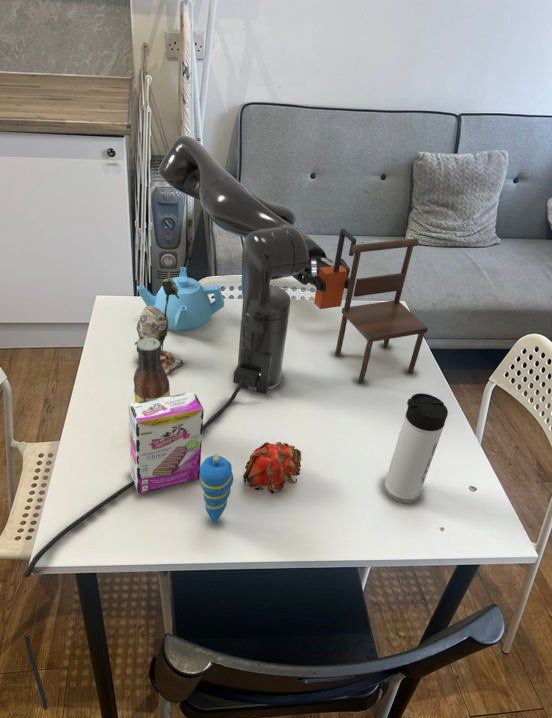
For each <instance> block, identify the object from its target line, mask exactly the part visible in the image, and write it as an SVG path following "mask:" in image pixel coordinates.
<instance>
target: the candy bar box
mask: <svg viewBox="0 0 552 718" xmlns="http://www.w3.org/2000/svg"><path fill="white" fill-rule="evenodd" d="M204 412H205V408H204V407H203V405H202V403H201V402H200V400H199V397H198V396H197V394H196V392H195V391H191V392H185V393H180V394H174V395H170V396H169V397H163V398H158V399H152V400H147V401H141V402H136V403H135V402H131V403H128V417H129V418H128V419H129V420H128V422H129V423H128V426H129V448H130V449H129V455H130V475H131V479H132V481H133V480H134V483H135V485H134V487H135V489H136V492H137V494H138V495H142V494H145V493H149V492H155V491H158V490H161V489H165V488H169V487H174V486H177V485H181V484H186V483H190V482H193V481H198V480H200V478H201V477H200V467H201V461H202V444H203V443H202V442H203V441H202V440H203V432H202V429H203V425H204Z"/></svg>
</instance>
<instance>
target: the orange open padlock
mask: <svg viewBox="0 0 552 718" xmlns="http://www.w3.org/2000/svg"><path fill="white" fill-rule="evenodd" d="M345 239H348V240H349V241H350V246H349V252H348V256H349V257H354V254H355V253H352V251H351V247H352V245H357V238H356V237H354V236H353V235H352V234H351V233H350V232H349V231H348V230H347V229H346V228H345V227H342V228H341V229H340V230H339V236H338V241H337V247H336V254H335V258H334V262H335V264H334V266H330V267H322V268H319V275H318V276H319V277H320V278H321V279H322V280H323V281H324V282H325V283H326V291H325V292H321V291H320V290H318V289H317V288H316V287H315V294H314V301H313V304H314V305H315V306H316V307H317V308H318V310H324V309H325V310H326V309H332V308H339V307H341V306H342V302H343V296H344V291H345V288H344V286H345V281H346V276H347V270H346V269H345V268H344V267H343V266H341V265H340V261H341V259H342V256H343V250H344V244H345Z"/></svg>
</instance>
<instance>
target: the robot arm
mask: <svg viewBox="0 0 552 718" xmlns="http://www.w3.org/2000/svg"><path fill="white" fill-rule="evenodd" d="M157 172H158V175H159V176H160V177H161V179H162V180H163V181H164V182H165V183H167V185H169V186H170V187H172V188H173V189H175V190H176V191H179V192H180V193H182V194H184V195H187V196H188V197H191V198H193V199H196V200H198V201H199V202H200V204H201V207H202V209H203V211H204V212H205V213H206V215H207V216H208V217H209V218H210V219H211V220H212V221H213V222H214V224H215V225H217V226H218V227H219V228H220V229H222V230H223V231H226V232H228V233H230V234H232V235H235V236H238V237H241V238H244V240H243V245H242V253H241V254H242V256H241V295H242V308H241V309H242V310H241V321H240V332H239V333H240V334H239V345H238V355H237V356H238V357H237V366H236V368H235V369H234V371H233V382H232V383H234V384H237V387H235V389H234V390H233V392H232V395H231V396H230V398H229V399H228V400H227V402H225V404H224V405H223V406H222V407H221V408H220V409H219V410H218V411H216V413H215V414H213V415H212V416H211V417H210V418H209V419H208V420H207V421H206V422H205V423H203V429H202V433H203V432H204V431H205V430H206V429H207V428H208V427H209V426H210V425H211V424H212V423H213V422H215V420H216V419H217V418H219V417H220V416H221V415H222V414H223V412H225V410H226V409H227V408H228V407H229V406H230V405H231V404H232V403H233V402H234V400H235V399H236V397H237V395H238V394H239V392H240V391H241V389H245V390H249V391H252V392H256V393H260V394H264V395H266V394H268V392H271V391H272V390H275V389H276V388H278V387H279V386H280V384H281V382H282V372H283V371H282V370H283V363H284V356H285V355H284V354H285V348H286V340H287V333H288V325H289V319H290V311H291V304H292V303H291V301H292V300H291V296H290V295H289V293H288V292H287V291H286V290H284V289H283V288H281V287H279V286H277V285H273V284H271V281H273V280H278V279H284V278H289V277H292V278H294V279H295V280H296V281H297V282H299V283H300V284H301V285H303V286H307V285H308V284H310V285H311V286H314V287H315V289H316V288H317V289H318V290H320V291H321V292H325V291H326V283H325V282H324V281H323V280H322V279H321V278H320V277H319V276H318V275H319V268H322V267H330V266H334V264H335V261H333V260H332V259H330V258H328V257H327V254H326V252H325V250H324V249H323V248H322V247H321V246H320V245H319V244H318V243H317V242H316V241H315V240H314V239H312V237H310V235H307V234H306V233H305V232H304V231H303V230H302V229H301V228H300V227H299V226H297V225H295V224H296V221H297V218H296V214H295V213H294V211H293V210H292V209H291V208H290V207H288V206H286V205H282V204H280V203H275V202H270V201H267V200H264V199H262V198H261V197H259V196H258V195H256V194H255V193H254V192H252V191H251V190H248V189H247V188H246V187H245V186H244V185H243V184H242V183H241V182H240V181H238V180H237V179H236V178H235V177H234V176H233V175H232V174H230V173H229V172H228V171H227V170H225V169H224V168H223V167H222V166H221V165H220V164H219V162H218V161H217V160H216V159H215V158H214V157H213V156H212V154H211V153H210V152H209V150H207V149H206V148H205V147H204V145H202V144H201V143H200V142H199V141H197V140H196V139H195V138H193V137H191V136H190V135H189V136H188V135H179V136H178V137H177V138H176V139H175V140H174V142H173V143H172V144H171V146H170V148H169V150H168V151H167V153H166V154H165V155H164V158H163V159H162V161H161V162H160V164H159V166H158V169H157ZM340 265H341V266H343V267H344V268H345V269H346V270H347V276H346V281H345V286H344V290H348V285H349V280H350V274H351V268H350V267H349V265H348V264H347V262H346V260H345V259H344V258H341V261H340ZM133 487H135V483H134V480H133V479H132V480H131V482H129V483H127V484H126V485H124V486H123V487H122V488H120V489H119V490H117V491H116V492H114V493H113V494H111V495H110V496H108V497H107V498H105V499H104V500H102V501H101V502H100V503H98V504H96V506H93V508H91V509H90V510H88V511H87V512H86V513H84V514H83V515H82V516H80V517H79V518H77V519H76V520H75V521H73V522H72V523H71V524H69V525H67V526H66V527H65V528H63V529H62V530H61V531H60V532H59V533H57V534H56V535H55V536H54V537H53V538H52V539H51V540H50V541H49V542H48V543H46V544H45V545H44V546H43V547H42V548H41V549H40V550H39V551H38V552H37V553H36V554H35V555H34V557H33V558H32V560H31V561H30V563H29V564H28V566H27V568H26V570H25V572H24V578H25V579H27V578H29V577H30V576H31V574H32V573H33V572H32V571H33V570H34V568H35V566H36V565H37V563H38V562H39V560H40V559H41V558H42V557H43V556H44V555H45V554H46V553H47V552H48V551H49V550H50V549H51V548H52V547H54V546H55V545H56V543H57V542H59V541H60V540H61V539H62V538H63V537H65V536H66V535H67V534H68V533H69V532H71V531H73V529H75V528H76V527H78V526H79V525H80V524H82V523H83V522H85V521H86V520H87V519H88V518H90V517H91V516H92V515H94V514H95V513H97V512H98V511H99V510H101V509H103V508H104V507H105V506H107V505H108V504H109V503H111V502H112V501H114V500H115V499H117V498H118V497H120V496H121V495H123V494H124V493H126V492H127V491H128V490H130V489H131V488H133ZM23 637H24V642H25V649H26V652H27V657H28V659H29V663H30V667H31V669H32V673H33V676H34V679H35V682H36V686H37V689H38V693H39V697H40V700H41V705H42V708H43V710H44V711H47V710H48V709H49V708H48V701H47V698H46V694H45V690H44V685H43V683H42V680H41V676H40V672H39V668H38V665H37V663H36V659H35V655H34V652H33V647H32V643H31V637H30V636H28V635H25V634H24V635H23Z"/></svg>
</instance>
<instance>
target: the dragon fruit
mask: <svg viewBox="0 0 552 718" xmlns="http://www.w3.org/2000/svg"><path fill="white" fill-rule="evenodd" d="M302 460H303V459H302V451H301V450H299V449H298V448H296V446H294V445H290V444H288V443H287V442H283V443H282V442H281V441H276V443H270V442H269V441H267V442H264V443H262V444H261V445H260V446H259V447H257V448H255V450H253V452H252V453H251V454H250V456H249V459H248V460H247V462H246V464H245V466H244V470H245V472H244V473H243V475H242V478H243V483H244V485H247V483H248V487H249V489H251V490H253V491H254V490H255V491H262V490H264V489H265V488H263V487H267V490H268V492H270V494H271V495H275V494H277V493H279V492H280V491H282V490H283V489H284V488H285V484H286V483H289V484H291V485H295V484H296V483H298V478H295V481H294V479H292V477H298V476H300V474H301V471H302V470H301V467H302V464H301V462H302Z"/></svg>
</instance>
